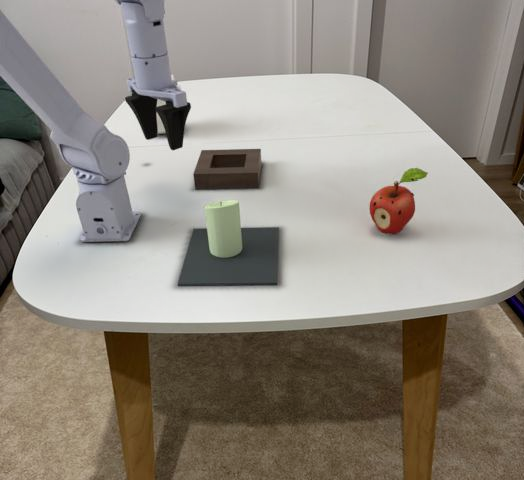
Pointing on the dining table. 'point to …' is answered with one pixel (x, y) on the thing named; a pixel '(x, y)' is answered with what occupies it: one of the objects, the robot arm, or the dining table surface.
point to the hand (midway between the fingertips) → (163, 143)
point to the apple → (395, 204)
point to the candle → (224, 228)
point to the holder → (228, 169)
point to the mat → (232, 260)
